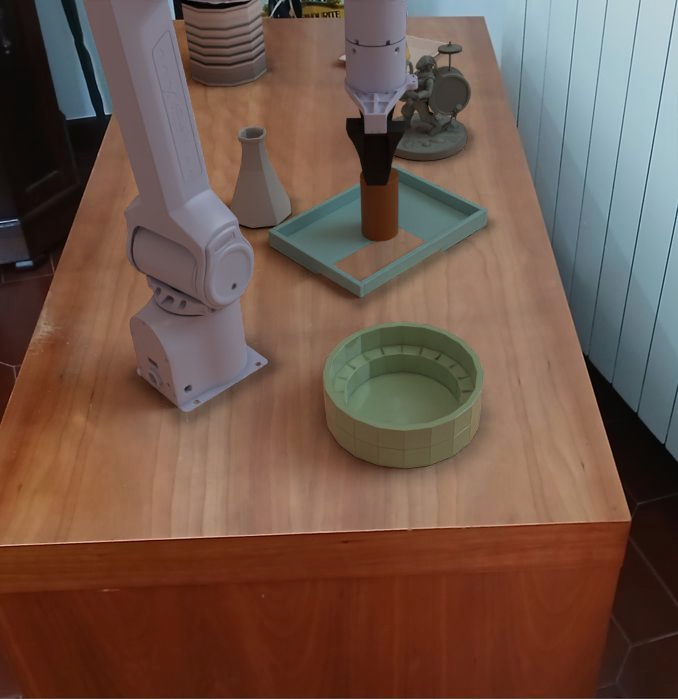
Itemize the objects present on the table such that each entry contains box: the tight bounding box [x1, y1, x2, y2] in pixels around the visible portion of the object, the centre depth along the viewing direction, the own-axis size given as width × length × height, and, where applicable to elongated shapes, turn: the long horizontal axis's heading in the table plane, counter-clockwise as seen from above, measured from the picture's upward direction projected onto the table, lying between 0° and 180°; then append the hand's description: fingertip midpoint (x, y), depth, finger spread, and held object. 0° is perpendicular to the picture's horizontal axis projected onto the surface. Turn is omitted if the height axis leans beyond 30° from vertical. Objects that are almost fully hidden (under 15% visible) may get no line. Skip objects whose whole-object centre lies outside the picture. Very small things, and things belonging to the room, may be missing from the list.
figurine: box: [392, 41, 472, 161], centre depth 112 cm, size 11×11×12 cm
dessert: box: [338, 34, 449, 75], centre depth 133 cm, size 12×12×5 cm
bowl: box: [322, 320, 485, 469], centre depth 78 cm, size 13×13×5 cm
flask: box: [229, 125, 292, 229], centre depth 101 cm, size 7×7×10 cm
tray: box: [267, 164, 489, 299], centre depth 100 cm, size 19×14×2 cm
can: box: [180, 0, 268, 88], centre depth 130 cm, size 11×11×12 cm
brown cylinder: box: [359, 167, 399, 242], centre depth 97 cm, size 4×4×10 cm
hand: (376, 164), depth 95 cm, fingers open, 7 cm apart
